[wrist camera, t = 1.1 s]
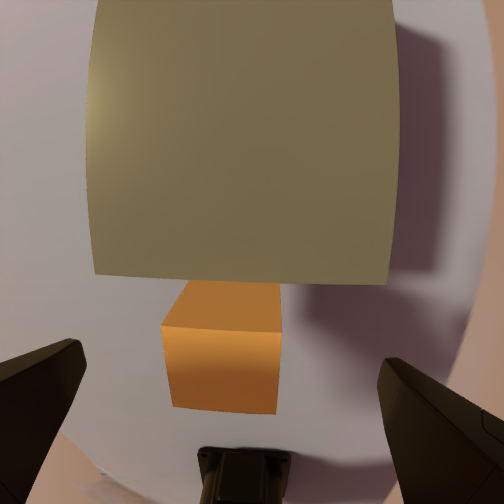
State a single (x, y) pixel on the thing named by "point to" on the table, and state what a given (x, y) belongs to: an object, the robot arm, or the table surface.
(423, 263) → the table surface
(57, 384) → the robot arm
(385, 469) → the table surface
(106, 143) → the lid
